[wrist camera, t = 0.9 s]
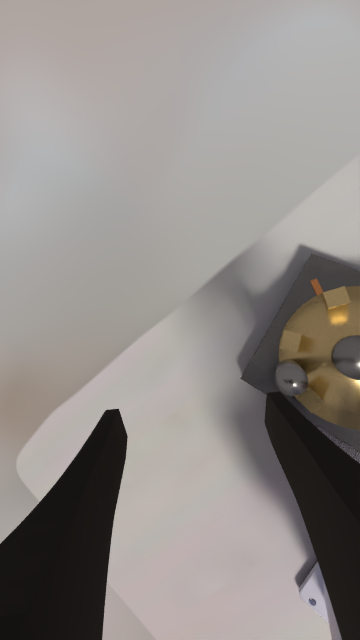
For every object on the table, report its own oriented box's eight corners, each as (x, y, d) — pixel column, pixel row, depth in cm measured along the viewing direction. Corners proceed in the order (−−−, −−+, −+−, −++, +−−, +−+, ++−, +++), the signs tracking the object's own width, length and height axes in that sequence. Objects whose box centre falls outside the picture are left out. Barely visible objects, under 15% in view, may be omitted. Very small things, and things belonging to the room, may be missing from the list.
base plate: (478, 324, 17) (498, 323, 16) (383, 461, 19) (393, 473, 17) (309, 259, 22) (311, 253, 20) (242, 375, 23) (240, 378, 22)
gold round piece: (402, 270, 18) (457, 242, 12) (463, 411, 16) (556, 448, 11) (258, 313, 21) (251, 306, 16) (296, 433, 20) (303, 469, 14)
